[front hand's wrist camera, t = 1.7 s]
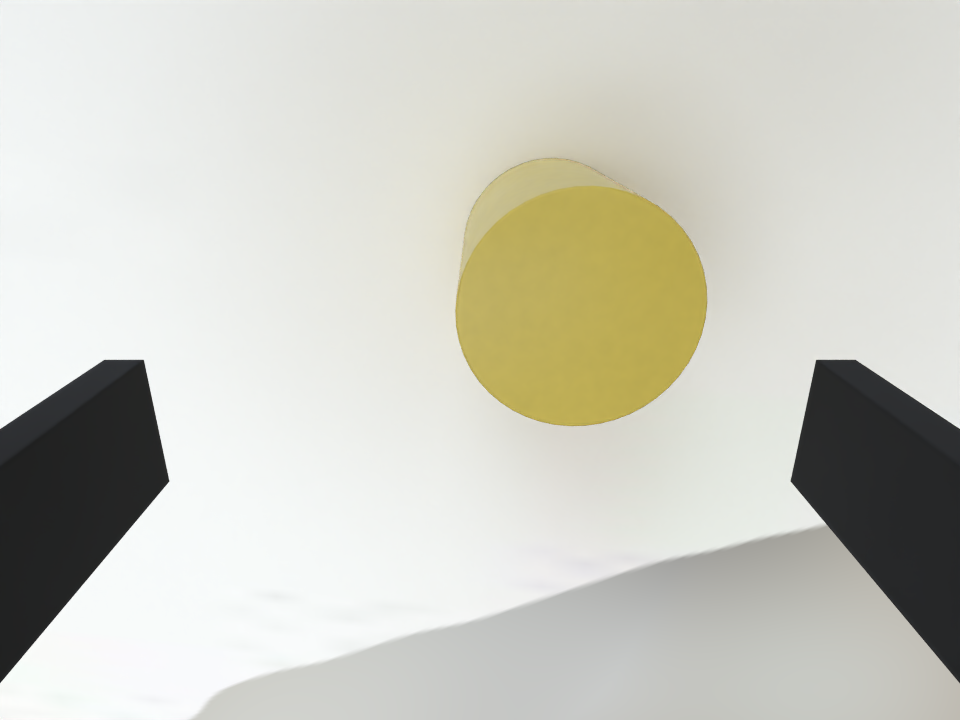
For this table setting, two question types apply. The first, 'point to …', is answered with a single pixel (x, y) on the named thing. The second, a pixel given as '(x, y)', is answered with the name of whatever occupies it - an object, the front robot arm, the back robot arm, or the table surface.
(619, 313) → the tin
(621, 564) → the table surface
